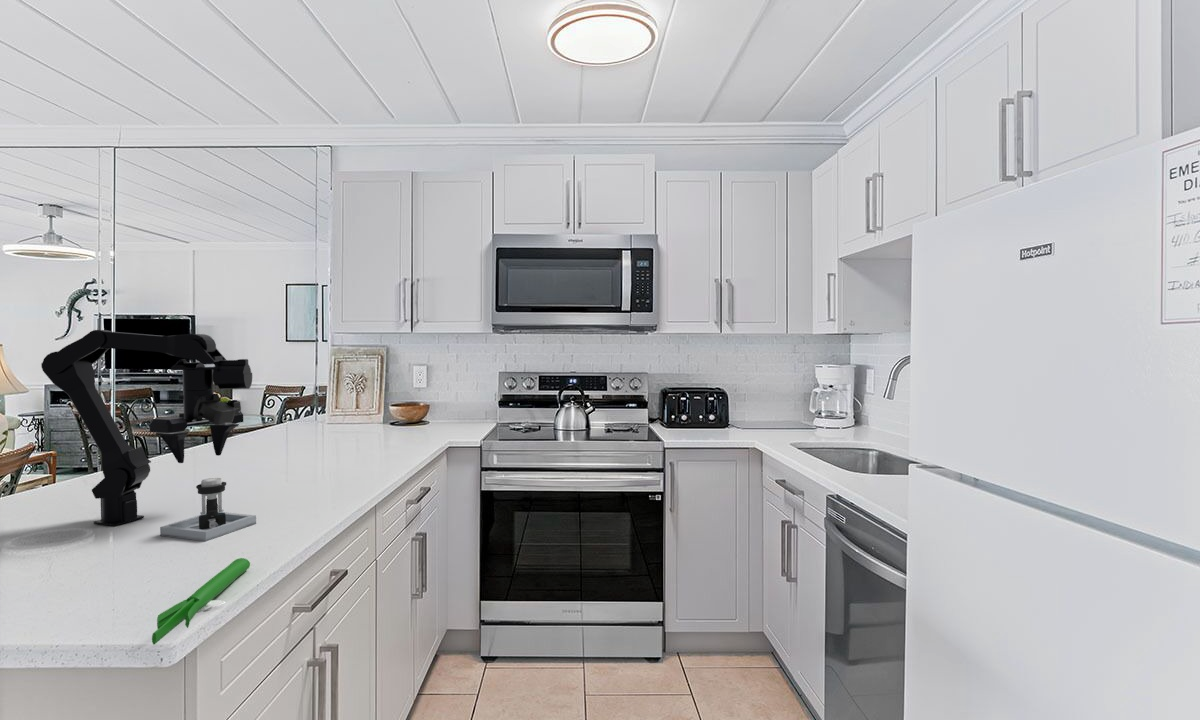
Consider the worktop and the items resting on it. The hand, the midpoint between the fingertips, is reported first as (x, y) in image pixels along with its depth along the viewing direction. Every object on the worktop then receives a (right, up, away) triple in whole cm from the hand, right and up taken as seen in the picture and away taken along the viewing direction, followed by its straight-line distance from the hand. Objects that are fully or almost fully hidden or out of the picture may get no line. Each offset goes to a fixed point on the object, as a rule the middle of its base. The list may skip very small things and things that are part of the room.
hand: (200, 459), depth 137 cm
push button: (+8, -13, -9) cm, 18 cm away
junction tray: (+8, -13, -9) cm, 18 cm away
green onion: (+32, -15, -47) cm, 59 cm away
